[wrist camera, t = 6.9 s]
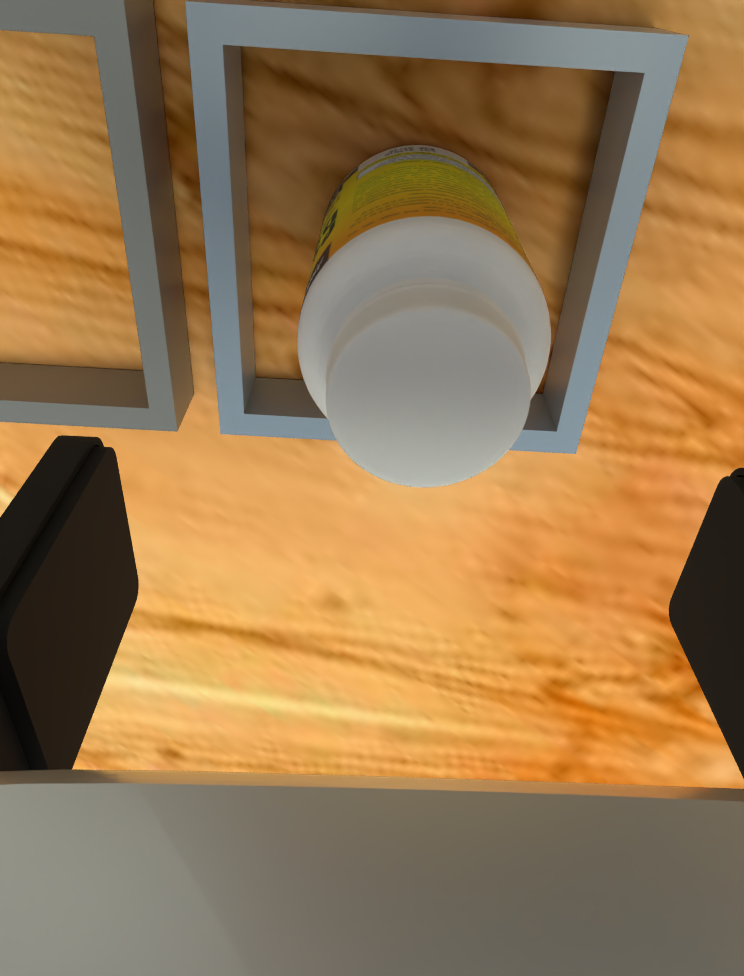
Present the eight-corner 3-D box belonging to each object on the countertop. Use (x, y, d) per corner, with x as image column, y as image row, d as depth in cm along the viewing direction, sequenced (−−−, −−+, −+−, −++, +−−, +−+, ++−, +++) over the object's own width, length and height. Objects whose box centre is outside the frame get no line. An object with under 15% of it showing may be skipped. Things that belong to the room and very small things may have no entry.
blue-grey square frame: (207, -3, 18) (184, 1, 16) (655, 28, 18) (688, 35, 16) (233, 396, 25) (220, 433, 23) (560, 415, 25) (576, 453, 23)
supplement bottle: (315, 142, 20) (266, 264, 12) (512, 137, 20) (599, 256, 12) (327, 327, 24) (296, 522, 15) (496, 324, 23) (557, 519, 15)
